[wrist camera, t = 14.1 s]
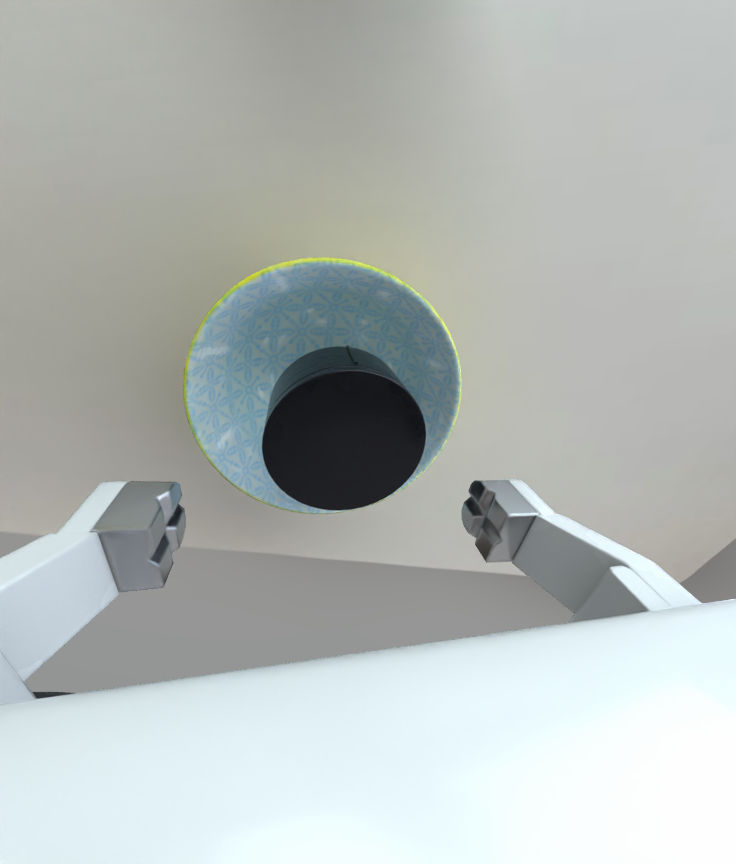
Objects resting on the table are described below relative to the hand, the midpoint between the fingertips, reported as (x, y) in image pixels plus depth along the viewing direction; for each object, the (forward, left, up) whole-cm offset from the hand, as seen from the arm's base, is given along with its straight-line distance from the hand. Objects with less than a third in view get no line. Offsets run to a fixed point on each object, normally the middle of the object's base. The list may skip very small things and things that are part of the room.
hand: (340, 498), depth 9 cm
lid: (0, 0, -5) cm, 5 cm away
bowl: (0, 0, -11) cm, 11 cm away
